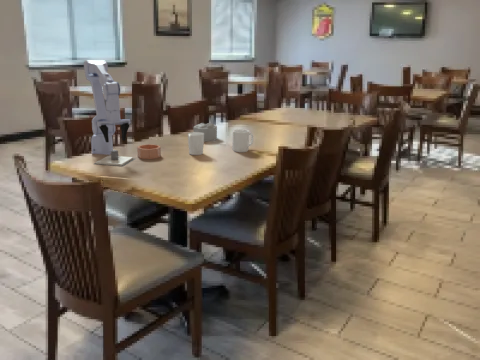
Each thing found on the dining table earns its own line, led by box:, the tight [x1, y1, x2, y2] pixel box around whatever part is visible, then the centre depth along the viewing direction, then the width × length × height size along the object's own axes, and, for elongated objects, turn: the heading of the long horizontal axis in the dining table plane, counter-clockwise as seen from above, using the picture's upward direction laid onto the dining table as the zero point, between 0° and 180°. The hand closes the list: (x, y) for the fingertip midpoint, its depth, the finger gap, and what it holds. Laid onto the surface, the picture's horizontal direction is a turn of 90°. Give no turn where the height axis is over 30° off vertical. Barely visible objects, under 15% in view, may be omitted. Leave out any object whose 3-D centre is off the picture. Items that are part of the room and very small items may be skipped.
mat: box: [93, 157, 136, 168], centre depth 204 cm, size 14×14×1 cm
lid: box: [95, 149, 134, 167], centre depth 203 cm, size 12×12×5 cm
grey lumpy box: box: [193, 122, 218, 143], centre depth 253 cm, size 10×13×9 cm
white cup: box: [187, 131, 205, 156], centre depth 221 cm, size 8×8×10 cm
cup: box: [231, 128, 254, 153], centre depth 230 cm, size 8×12×10 cm
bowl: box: [136, 143, 162, 160], centre depth 213 cm, size 10×10×5 cm
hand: (115, 141), depth 201 cm, fingers open, 7 cm apart
